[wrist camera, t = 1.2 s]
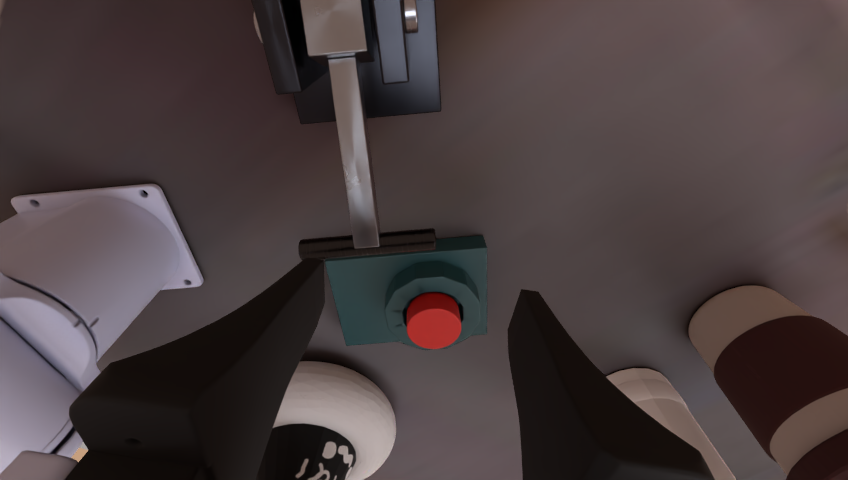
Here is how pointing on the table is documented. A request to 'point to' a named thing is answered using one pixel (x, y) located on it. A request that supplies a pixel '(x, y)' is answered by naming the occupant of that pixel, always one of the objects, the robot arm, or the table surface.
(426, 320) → the stop button
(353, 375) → the decorative figurine
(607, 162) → the table surface
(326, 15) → the lever
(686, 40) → the table surface
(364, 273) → the button box
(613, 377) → the bottle
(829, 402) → the coffee cup
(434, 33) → the bracket
